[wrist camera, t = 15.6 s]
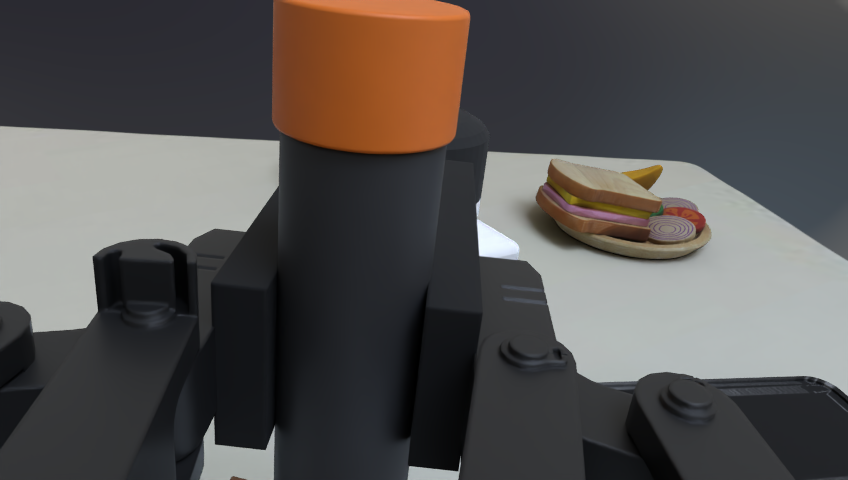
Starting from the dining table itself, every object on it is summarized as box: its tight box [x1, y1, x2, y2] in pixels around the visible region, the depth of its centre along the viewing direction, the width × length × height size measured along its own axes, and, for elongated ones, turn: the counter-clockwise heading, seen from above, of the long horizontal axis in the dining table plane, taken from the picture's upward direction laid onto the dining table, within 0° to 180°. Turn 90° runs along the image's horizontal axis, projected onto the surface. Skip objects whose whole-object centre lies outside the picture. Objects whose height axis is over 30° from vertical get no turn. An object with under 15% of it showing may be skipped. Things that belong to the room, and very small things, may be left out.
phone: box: [599, 376, 848, 480], centre depth 31 cm, size 8×1×15 cm
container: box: [445, 108, 519, 260], centre depth 32 cm, size 8×8×13 cm
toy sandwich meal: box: [536, 159, 711, 259], centre depth 54 cm, size 12×14×5 cm
